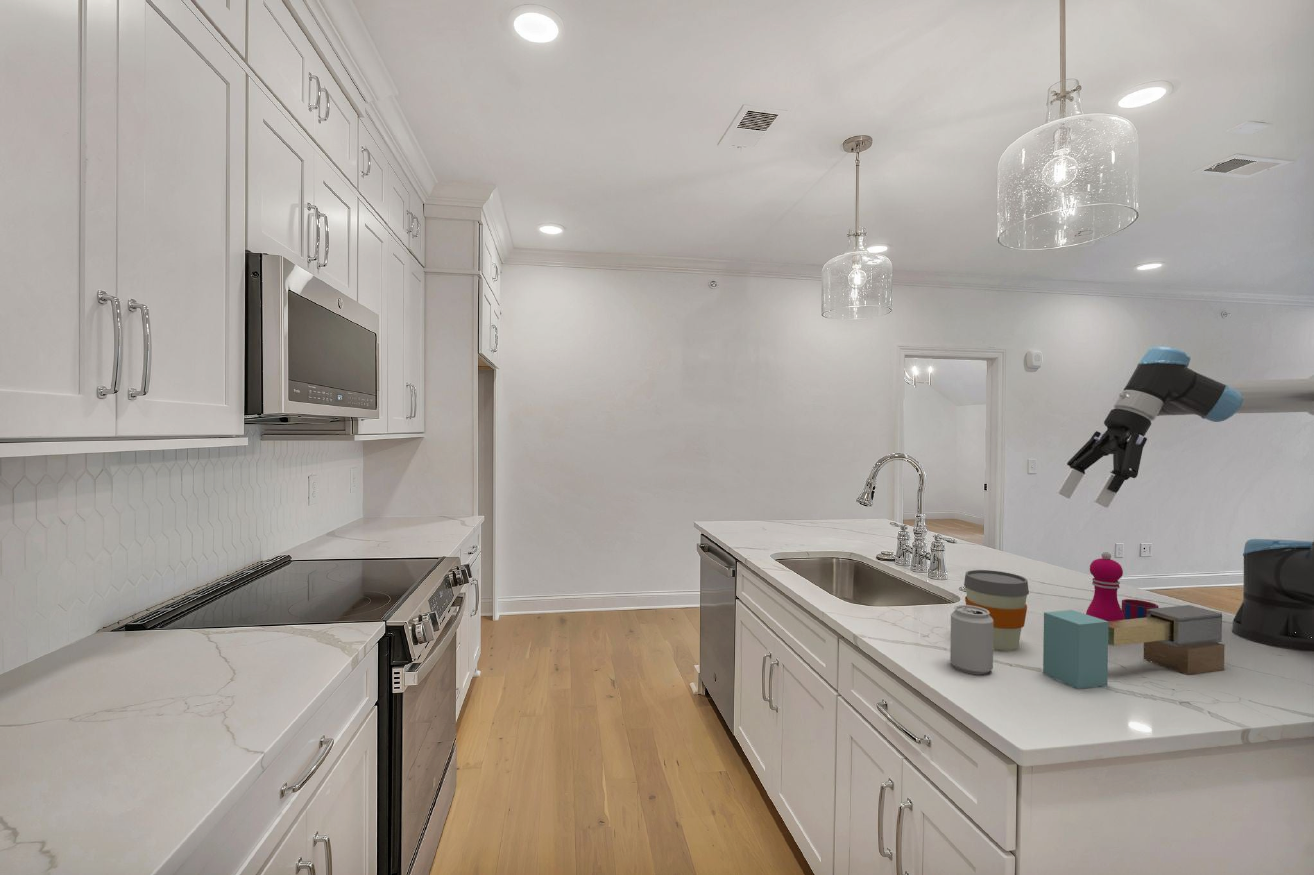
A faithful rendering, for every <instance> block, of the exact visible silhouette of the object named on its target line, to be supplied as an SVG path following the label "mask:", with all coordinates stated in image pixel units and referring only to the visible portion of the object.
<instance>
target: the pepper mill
mask: <svg viewBox="0 0 1314 875" xmlns="http://www.w3.org/2000/svg"><path fill="white" fill-rule="evenodd" d="M1100 555H1101V558H1096V559H1094V560H1092V561H1091V563H1090V565H1089V572H1090V574H1091V575H1092V576H1093V577H1092V579H1091V580H1092V583H1091V584H1092V585H1093V588H1094V592H1093V597H1092V600H1091V602H1090V604H1089V605H1088V607H1087V609H1086V612H1085V614H1086V615H1090V616H1093V617H1096V618H1099V619H1102V620H1105V621H1118V620H1125V617H1124V614H1123V612H1122V607H1121V605H1120V603H1119V601H1118V589H1120V588H1121V586H1120V584H1121V582H1120V581H1119V580H1121V578H1122V577H1123V575H1124V570H1123V567H1122V565H1121V564H1120V563H1119V562H1117V561H1116V560H1114V559H1111V558H1112V554H1111V553H1110V552H1107V551H1105V552H1102V553H1101V554H1100Z"/></svg>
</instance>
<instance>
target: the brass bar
mask: <svg viewBox="0 0 1314 875" xmlns="http://www.w3.org/2000/svg"><path fill="white" fill-rule="evenodd" d="M1108 622H1109V624H1108V646H1109V645H1110V646H1112V647H1117V646H1119V647H1120V646H1126V645H1135V644H1144V642H1152V641H1161V640H1169V639H1174V621H1172V620H1169V619H1165V618H1162V617H1158V616H1156V617H1147V618H1137V619H1127V620H1118V621H1108Z"/></svg>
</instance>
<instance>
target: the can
mask: <svg viewBox="0 0 1314 875" xmlns="http://www.w3.org/2000/svg"><path fill="white" fill-rule="evenodd" d="M989 614H990V612H989V611H988V610H986V609H984V608H981V607H977V606H970V605H966V604H959V605H955V606H954V611H952V612H951V613H950V651H949V652H950V657H949V658H950V659H949V660H950V662H951V664H952V665H953V666H954V667H955V668H956V669H957V670H958V671H961V672H964V673H968V674H971V675H985V674H988V672H991V671H992V670H993V668H994V649H993V619H992V618H991V617H990V615H989Z"/></svg>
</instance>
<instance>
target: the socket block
mask: <svg viewBox="0 0 1314 875" xmlns="http://www.w3.org/2000/svg"><path fill="white" fill-rule="evenodd" d="M1108 624H1109V622H1108V621H1105V620H1102V619H1099V618H1096V617H1093V616H1090V615H1086V613H1083V612H1079V611H1076V610H1074V609H1067V610H1066V609H1065V610H1056V611H1055V610H1054V611H1045V612H1043V647H1042V648H1043V652H1042V653H1043V654H1042V655H1043V656H1042V673H1043V674H1044V675H1046V676H1049V677H1051V678H1054V679H1055V680H1057V681H1060V682H1062V683H1063V684H1067V685H1068V686H1070V687H1072V688H1074V689H1078V690H1082V689H1090V688H1096V687H1104V686H1108V684H1109V683H1108V681H1109V680H1108V677H1109V671H1108V670H1109V667H1108V666H1109V644H1108Z"/></svg>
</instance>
